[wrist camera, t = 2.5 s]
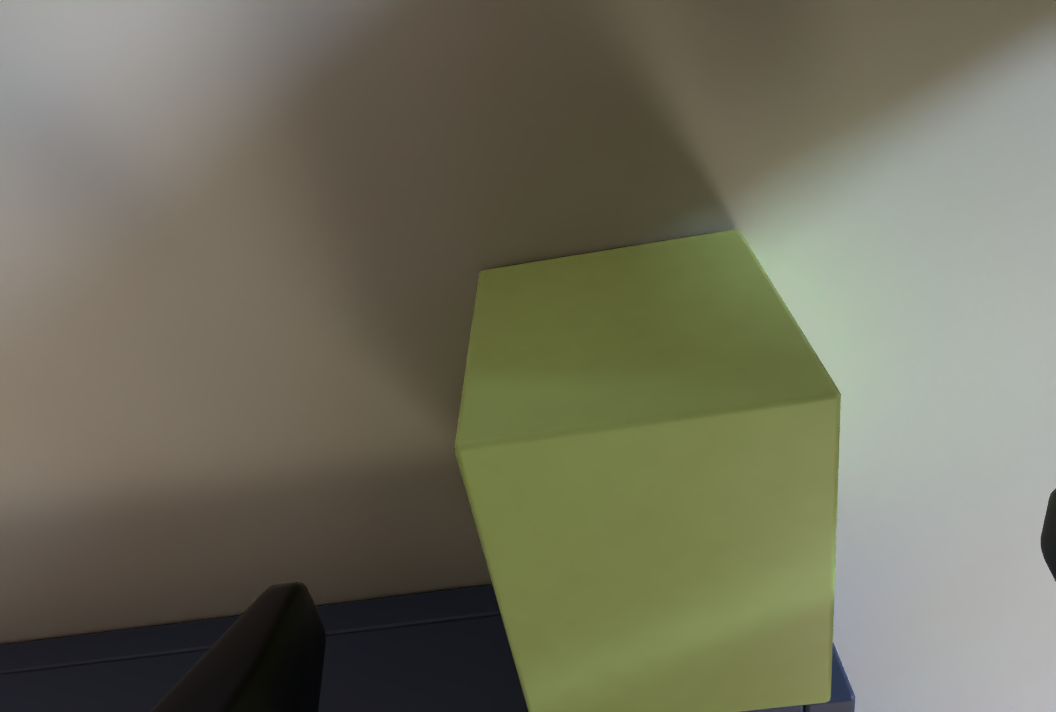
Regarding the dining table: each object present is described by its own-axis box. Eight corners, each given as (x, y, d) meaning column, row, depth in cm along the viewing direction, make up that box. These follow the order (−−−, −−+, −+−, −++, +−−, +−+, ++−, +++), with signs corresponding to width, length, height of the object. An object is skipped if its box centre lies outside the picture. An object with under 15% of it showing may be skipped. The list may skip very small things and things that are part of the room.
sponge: (739, 226, 12) (844, 392, 8) (750, 483, 14) (832, 705, 10) (478, 268, 12) (451, 447, 8) (533, 510, 14) (533, 736, 11)
